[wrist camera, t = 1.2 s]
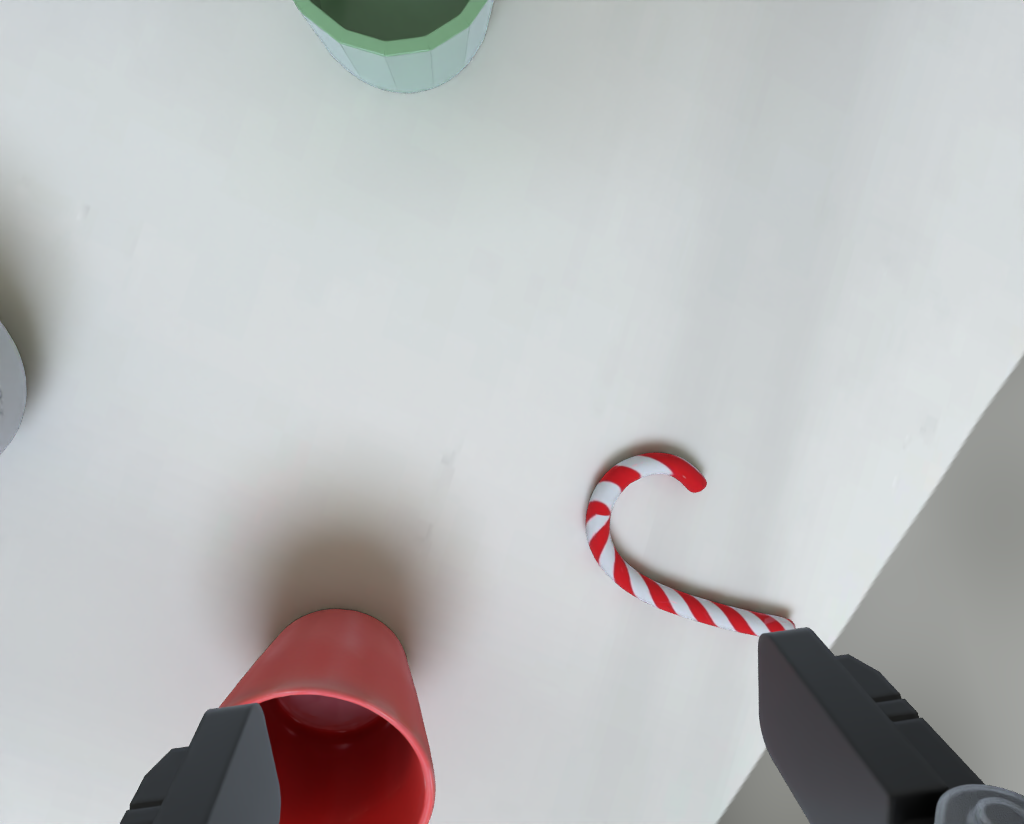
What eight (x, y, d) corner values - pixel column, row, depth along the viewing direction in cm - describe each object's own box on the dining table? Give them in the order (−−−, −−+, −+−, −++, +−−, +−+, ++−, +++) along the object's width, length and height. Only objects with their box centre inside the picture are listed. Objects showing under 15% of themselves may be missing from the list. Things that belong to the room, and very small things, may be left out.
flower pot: (345, 541, 40) (316, 642, 31) (474, 676, 43) (482, 806, 34) (197, 657, 41) (125, 788, 32) (332, 782, 44) (302, 936, 35)
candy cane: (759, 682, 43) (554, 547, 40) (750, 669, 45) (550, 536, 41) (849, 580, 42) (645, 432, 39) (837, 569, 43) (639, 425, 40)
